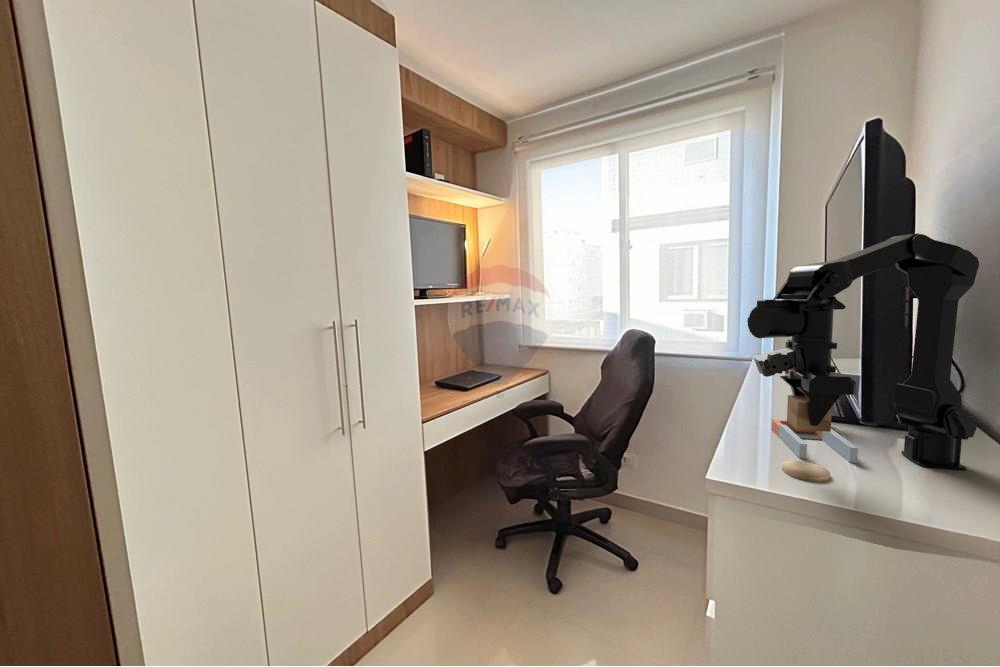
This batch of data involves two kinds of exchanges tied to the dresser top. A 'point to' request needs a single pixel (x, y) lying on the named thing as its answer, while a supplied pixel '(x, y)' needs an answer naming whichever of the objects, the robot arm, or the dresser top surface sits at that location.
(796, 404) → the walnut block
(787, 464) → the cork coaster
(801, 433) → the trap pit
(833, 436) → the channel
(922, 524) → the dresser top surface
